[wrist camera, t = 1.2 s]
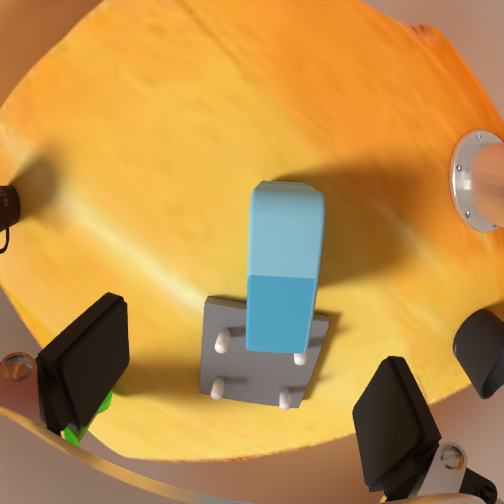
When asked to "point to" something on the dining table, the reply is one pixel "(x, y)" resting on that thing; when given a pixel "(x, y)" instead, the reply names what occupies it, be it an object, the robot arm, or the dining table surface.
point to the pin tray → (252, 360)
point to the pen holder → (482, 351)
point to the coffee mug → (8, 210)
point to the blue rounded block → (283, 265)
